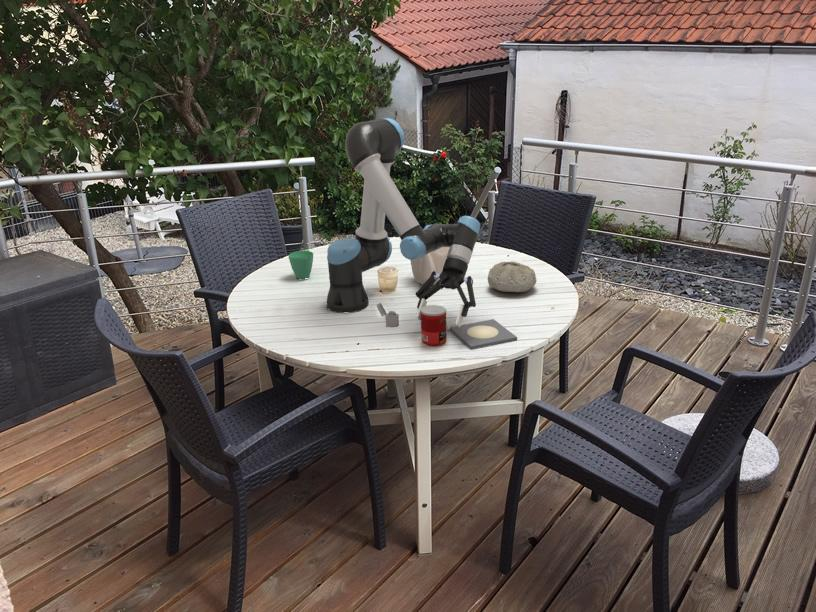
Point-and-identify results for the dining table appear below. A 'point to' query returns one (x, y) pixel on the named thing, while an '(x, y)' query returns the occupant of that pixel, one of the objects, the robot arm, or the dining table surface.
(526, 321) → the dining table surface
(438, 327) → the canned food
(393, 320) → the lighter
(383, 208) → the robot arm
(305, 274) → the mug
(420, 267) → the cream ceramic pot
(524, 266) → the grey rounded rock
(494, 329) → the mat
